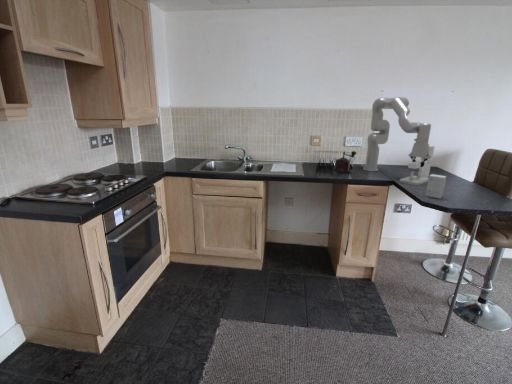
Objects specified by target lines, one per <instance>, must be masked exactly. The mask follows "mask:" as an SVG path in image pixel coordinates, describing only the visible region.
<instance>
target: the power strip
mask: <svg viewBox="0 0 512 384" xmlns="http://www.w3.org/2000/svg"><path fill="white" fill-rule="evenodd" d="M421 162H422V161H421V159H420V160H417V161H415V162H409V163H408V167H407V169H412V170H418V169H419V168H421ZM424 166H427V161H425V163H424ZM424 166H423V167H424Z"/></svg>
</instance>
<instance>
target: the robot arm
mask: <svg viewBox="0 0 512 384" xmlns="http://www.w3.org/2000/svg"><path fill="white" fill-rule="evenodd" d="M409 104H410V100H409V99H408V98H407V97H403V96H402V97H400V96H397V97H396V96H395V97H379V98H377V99H375V100H374V102H373V103H372V106H371V107H372V109H371V111H372V112H371V113H372V114H371V115H372V116H371V124H370V129H371V131H372V133H370V134H369V135H368V136H367V149H366V150H367V151H366V155H365V156H366V157H365V163H361V165H360V166H361V167H363V168H362V170H364V171H368V172H378V171H379V168H378V160H379V154H380V146H379V145H385V144H386V143H387V142H388V140H389V135H390V134H389V133H390V126H391V125H390V121H388V120H387V119H384V111H383V110H392V111H394V113H395V114H396V115H397V117H398V118H397V119H398V125H399V127H400V128H401V129H402V131H403V132H404V133H406V134H416V138H414V139H413V140H414V143H413V146H412V149H411V152H410V153H409V154H408V157H409V158H410V159H411V160H412V162H415V161H416V159H417V158H422V162H421V167H423V166H424V163H425V161H426V160H428V159H430V158H431V157H430V155H429V145H430V143H429V141H430V140H429V139H430V135H431V129H432V124H431V123H428V122H427V123H426V122H423V123H422V122H412V121H410V119H409V118H408V117H407V116H409V114H410V112H411V110H410V109H409ZM425 157H427V158H426V159H425Z"/></svg>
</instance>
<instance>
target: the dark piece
mask: <svg viewBox="0 0 512 384" xmlns="http://www.w3.org/2000/svg"><path fill="white" fill-rule="evenodd" d="M355 155H357V151H355V150H353V151H351V154H347V153H346V151H343V155H342V157H340V158H337V159H336V160H335V166H334V167H335V169H334V172H339V173H348V172H350V165H351V160H350V159H347V158H346V157H345V156H348V157H351V158H355Z"/></svg>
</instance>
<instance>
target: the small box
mask: <svg viewBox="0 0 512 384" xmlns="http://www.w3.org/2000/svg"><path fill="white" fill-rule="evenodd" d="M428 178H429V180H428V182H427V186H426V192H425V197H429V198H436V199H441V198H442V197H443V196H444V191H445V187H446V186H445V185H446V182H447V178H448V177H447V175H440V174H434V173H431V174H429V177H428Z"/></svg>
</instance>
